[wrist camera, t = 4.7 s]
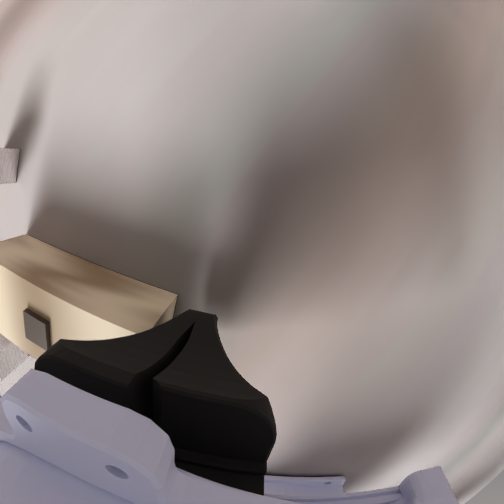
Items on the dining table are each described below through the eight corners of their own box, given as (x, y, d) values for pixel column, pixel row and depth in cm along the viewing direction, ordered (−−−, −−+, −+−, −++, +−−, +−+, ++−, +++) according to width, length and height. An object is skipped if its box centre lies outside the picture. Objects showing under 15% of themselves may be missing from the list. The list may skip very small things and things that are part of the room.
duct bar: (177, 294, 13) (141, 341, 8) (163, 361, 13) (134, 416, 9) (26, 234, 12) (-28, 250, 8) (25, 295, 13) (-21, 321, 9)
